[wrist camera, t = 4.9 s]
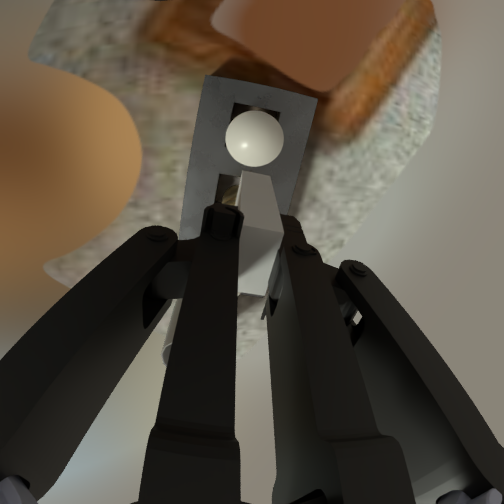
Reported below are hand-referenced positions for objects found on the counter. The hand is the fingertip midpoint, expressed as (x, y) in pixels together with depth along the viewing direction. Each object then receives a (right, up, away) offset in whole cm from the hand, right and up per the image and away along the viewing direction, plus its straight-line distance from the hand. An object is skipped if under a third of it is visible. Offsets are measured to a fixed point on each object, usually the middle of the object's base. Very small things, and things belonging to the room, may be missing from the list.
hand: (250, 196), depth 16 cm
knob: (0, +10, +13) cm, 17 cm away
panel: (-2, +5, +20) cm, 21 cm away
